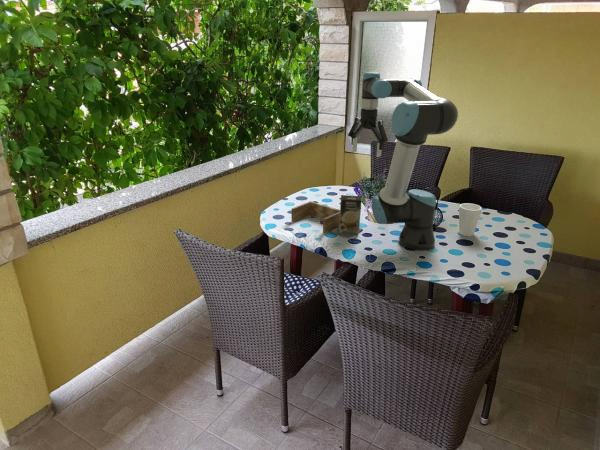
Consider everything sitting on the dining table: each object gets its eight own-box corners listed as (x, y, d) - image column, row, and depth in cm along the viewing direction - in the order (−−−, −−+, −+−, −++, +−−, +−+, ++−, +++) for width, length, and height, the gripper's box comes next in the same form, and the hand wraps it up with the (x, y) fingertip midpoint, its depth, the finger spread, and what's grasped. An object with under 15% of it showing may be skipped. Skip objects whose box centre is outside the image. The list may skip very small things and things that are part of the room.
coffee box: (338, 233, 205) (340, 199, 199) (338, 227, 211) (340, 194, 204) (359, 234, 204) (361, 200, 198) (358, 228, 210) (360, 195, 204)
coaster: (362, 230, 210) (362, 229, 209) (347, 238, 201) (347, 236, 201) (345, 225, 216) (345, 223, 215) (329, 232, 207) (329, 230, 207)
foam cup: (478, 238, 203) (483, 211, 198) (456, 236, 205) (461, 209, 200) (475, 230, 211) (479, 204, 206) (454, 228, 213) (458, 202, 208)
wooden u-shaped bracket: (343, 224, 216) (343, 211, 213) (324, 233, 206) (325, 219, 203) (310, 214, 228) (310, 201, 226) (291, 222, 218) (291, 208, 216)
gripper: (397, 110, 201) (393, 157, 209) (351, 104, 216) (349, 148, 224) (389, 111, 195) (385, 160, 204) (342, 106, 211) (340, 151, 219)
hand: (366, 154), depth 214 cm, fingers open, 13 cm apart
